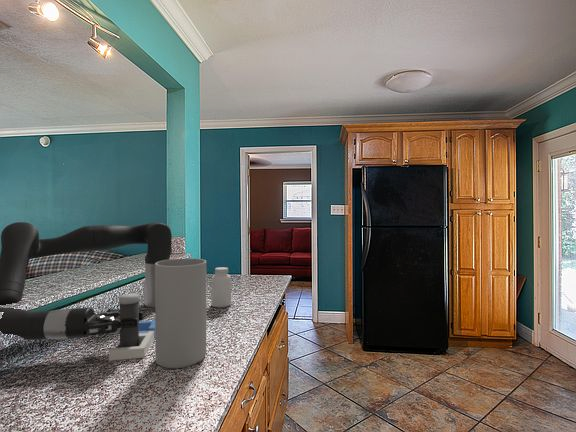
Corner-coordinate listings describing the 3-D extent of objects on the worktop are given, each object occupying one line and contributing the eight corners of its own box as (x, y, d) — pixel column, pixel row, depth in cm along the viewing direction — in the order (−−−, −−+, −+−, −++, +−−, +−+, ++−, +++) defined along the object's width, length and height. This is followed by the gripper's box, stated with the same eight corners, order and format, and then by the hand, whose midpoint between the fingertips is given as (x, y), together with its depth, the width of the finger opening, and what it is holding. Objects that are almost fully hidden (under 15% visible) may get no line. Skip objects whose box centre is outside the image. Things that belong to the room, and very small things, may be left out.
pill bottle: (234, 303, 129) (234, 267, 129) (224, 308, 121) (224, 270, 121) (218, 301, 131) (218, 265, 131) (207, 306, 124) (207, 269, 124)
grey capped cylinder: (115, 351, 84) (115, 296, 84) (133, 345, 88) (133, 292, 88) (125, 356, 81) (125, 299, 81) (143, 349, 85) (143, 295, 85)
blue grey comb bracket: (109, 360, 79) (109, 348, 79) (132, 329, 100) (132, 319, 100) (144, 357, 81) (144, 345, 81) (160, 327, 101) (160, 318, 101)
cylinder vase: (177, 375, 72) (177, 268, 72) (145, 361, 79) (144, 263, 79) (216, 354, 83) (216, 261, 83) (184, 343, 90) (184, 257, 89)
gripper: (82, 327, 89) (146, 323, 92) (56, 349, 75) (132, 343, 78) (82, 301, 89) (146, 298, 92) (55, 318, 75) (132, 314, 78)
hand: (139, 319), depth 85 cm, fingers closed on grey capped cylinder, 4 cm apart
